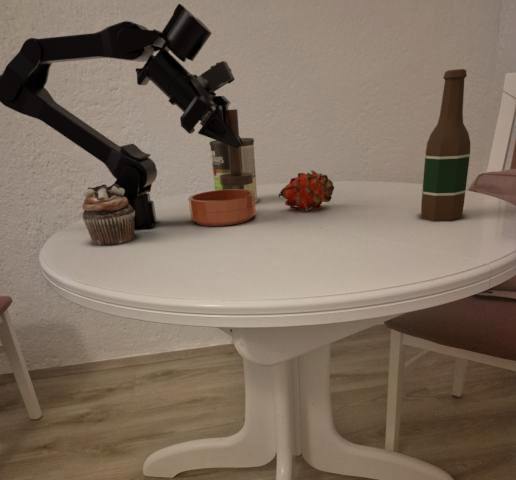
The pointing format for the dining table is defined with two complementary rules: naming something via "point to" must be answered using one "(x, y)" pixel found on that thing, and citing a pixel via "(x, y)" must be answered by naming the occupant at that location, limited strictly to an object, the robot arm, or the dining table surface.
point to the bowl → (222, 207)
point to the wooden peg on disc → (235, 157)
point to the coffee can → (223, 166)
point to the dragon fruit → (307, 191)
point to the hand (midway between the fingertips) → (241, 145)
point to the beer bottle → (447, 155)
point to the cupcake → (108, 215)
